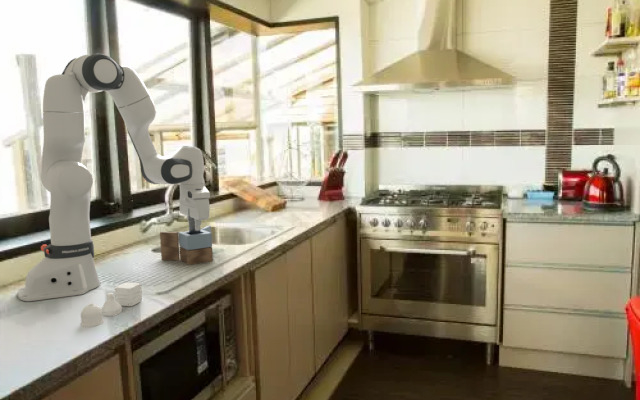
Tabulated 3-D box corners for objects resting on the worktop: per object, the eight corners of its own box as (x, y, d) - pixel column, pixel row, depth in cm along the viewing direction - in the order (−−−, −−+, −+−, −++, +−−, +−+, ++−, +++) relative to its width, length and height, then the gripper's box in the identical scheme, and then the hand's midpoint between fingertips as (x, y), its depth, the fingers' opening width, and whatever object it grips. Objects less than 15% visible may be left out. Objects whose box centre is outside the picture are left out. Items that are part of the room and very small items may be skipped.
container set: (126, 300, 147) (125, 281, 146) (142, 302, 146) (141, 283, 145) (76, 327, 128) (74, 305, 127) (94, 328, 127) (92, 307, 126)
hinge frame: (174, 267, 181) (172, 238, 179) (160, 259, 192) (159, 232, 191) (212, 260, 189) (211, 233, 187) (198, 253, 200) (196, 227, 199)
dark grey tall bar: (192, 244, 186) (190, 208, 184) (188, 242, 190) (186, 207, 188) (202, 243, 188) (201, 207, 187) (198, 241, 192) (196, 206, 190)
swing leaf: (188, 263, 184) (187, 236, 182) (175, 256, 195) (173, 230, 194) (226, 257, 192) (225, 231, 190) (211, 250, 203) (209, 225, 202)
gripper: (174, 189, 193) (176, 226, 195) (194, 194, 176) (196, 234, 178) (190, 188, 197) (192, 224, 199) (212, 193, 180) (213, 232, 182)
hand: (194, 229), depth 188 cm, fingers closed on dark grey tall bar, 4 cm apart
